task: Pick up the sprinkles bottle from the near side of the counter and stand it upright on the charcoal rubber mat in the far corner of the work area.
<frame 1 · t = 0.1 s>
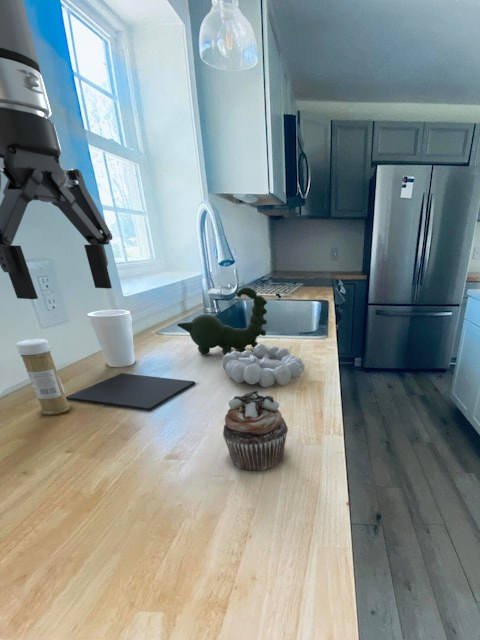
hand: (69, 293, 56), 22 cm above the countertop, tool pointing down, fingers open, 13 cm apart
toy figurine: (227, 352, 109), on the countertop
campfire: (264, 376, 91), on the countertop
corner mat: (134, 391, 80), on the countertop
foam cup: (121, 364, 97), on the countertop
sprinkles bottle: (56, 411, 70), on the countertop
cupcake: (257, 458, 57), on the countertop
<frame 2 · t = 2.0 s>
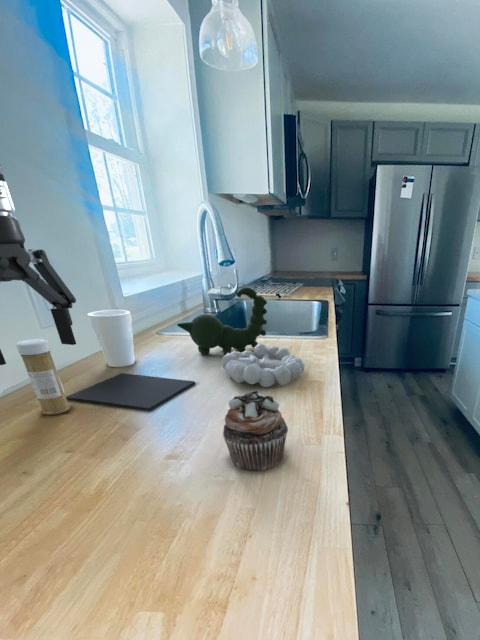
hand: (36, 353, 65), 11 cm above the countertop, tool pointing down, fingers open, 13 cm apart
nothing on the countertop moved.
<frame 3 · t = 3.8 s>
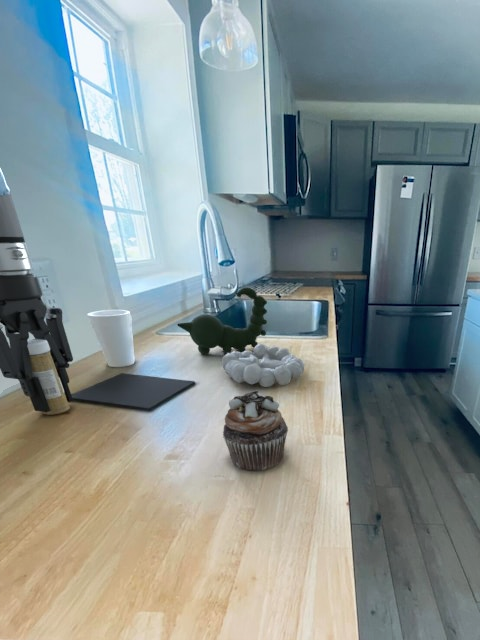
hand: (54, 405, 70), 1 cm above the countertop, tool pointing down, fingers closed on sprinkles bottle, 4 cm apart
sprinkles bottle: (56, 411, 70), on the countertop, touching gripper
everything else where it was.
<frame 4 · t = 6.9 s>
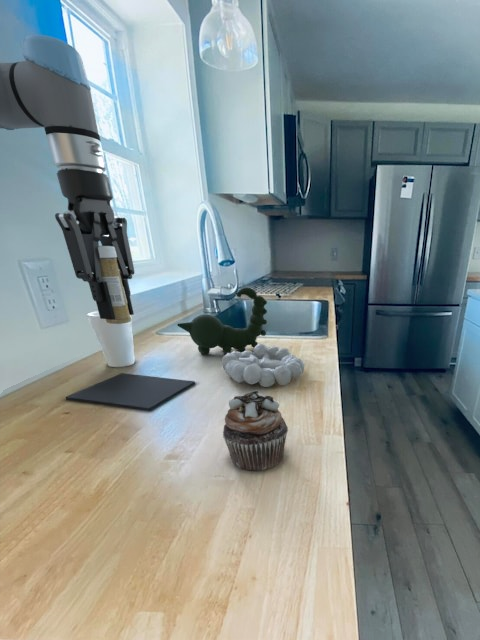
hand: (117, 316, 72), 16 cm above the countertop, tool pointing down, fingers closed on sprinkles bottle, 4 cm apart
sprinkles bottle: (119, 323, 72), point 15 cm above the countertop, touching gripper
everything else where it was.
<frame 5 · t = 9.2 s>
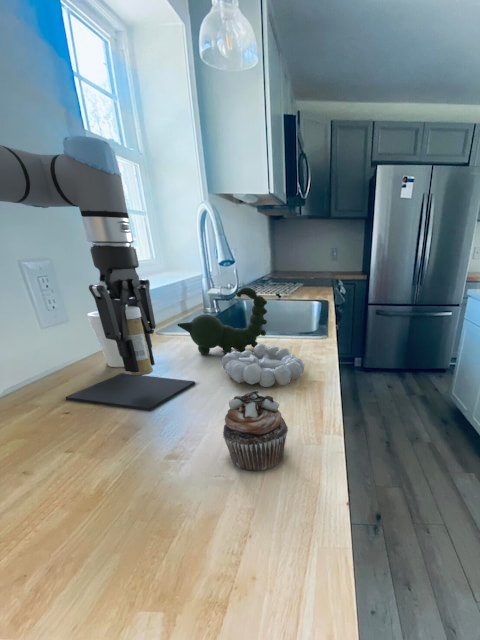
hand: (140, 367, 78), 5 cm above the countertop, tool pointing down, fingers closed on sprinkles bottle, 4 cm apart
sprinkles bottle: (141, 373, 79), point 4 cm above the countertop, touching gripper
everything else where it was.
when the fingers open (2 cm above the countertop, at t = 10.3 s): sprinkles bottle stays where it is, resting on corner mat.
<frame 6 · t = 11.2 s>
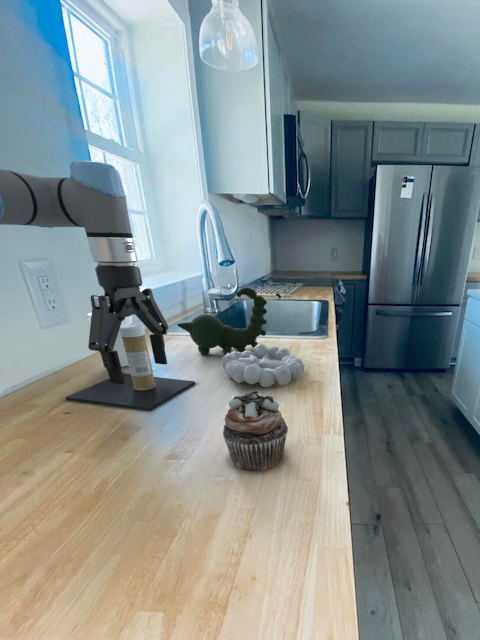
hand: (141, 372, 78), 4 cm above the countertop, tool pointing down, fingers open, 13 cm apart
sprinkles bottle: (145, 388, 80), resting on corner mat
everything else where it was.
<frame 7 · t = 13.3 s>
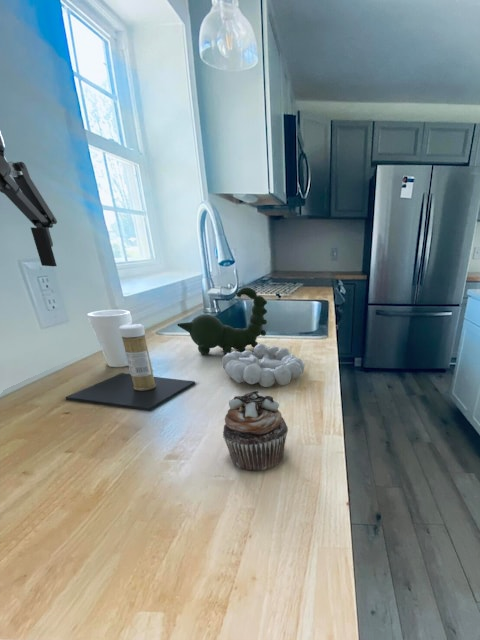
hand: (15, 268, 65), 25 cm above the countertop, tool pointing down, fingers open, 13 cm apart
nothing on the countertop moved.
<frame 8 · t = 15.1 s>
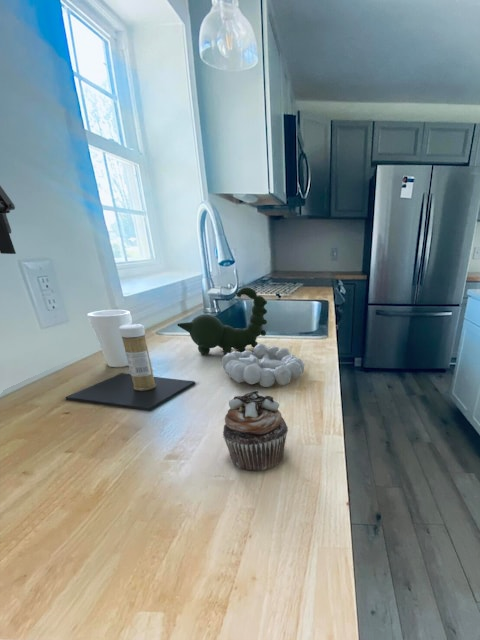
nothing on the countertop moved.
at the end: sprinkles bottle inside the target area (0.0 cm from its centre), resting on corner mat; sprinkles bottle tilted 0°; the gripper is holding nothing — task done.
